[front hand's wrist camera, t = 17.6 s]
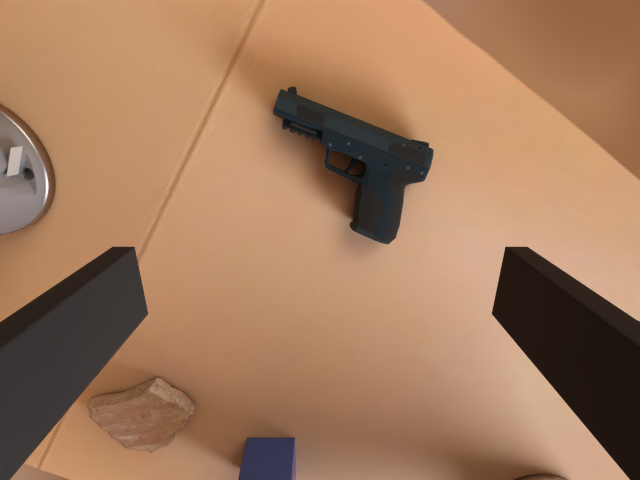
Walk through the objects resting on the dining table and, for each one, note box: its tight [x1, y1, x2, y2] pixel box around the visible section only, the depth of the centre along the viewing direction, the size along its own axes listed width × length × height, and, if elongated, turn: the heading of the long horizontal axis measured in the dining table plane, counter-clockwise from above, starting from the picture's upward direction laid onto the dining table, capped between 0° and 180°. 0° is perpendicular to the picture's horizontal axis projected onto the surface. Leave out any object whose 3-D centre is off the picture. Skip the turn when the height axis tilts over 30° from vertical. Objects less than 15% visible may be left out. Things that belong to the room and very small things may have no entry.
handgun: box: [273, 87, 433, 244], centre depth 38 cm, size 3×18×12 cm
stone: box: [87, 378, 196, 453], centre depth 51 cm, size 13×12×3 cm
